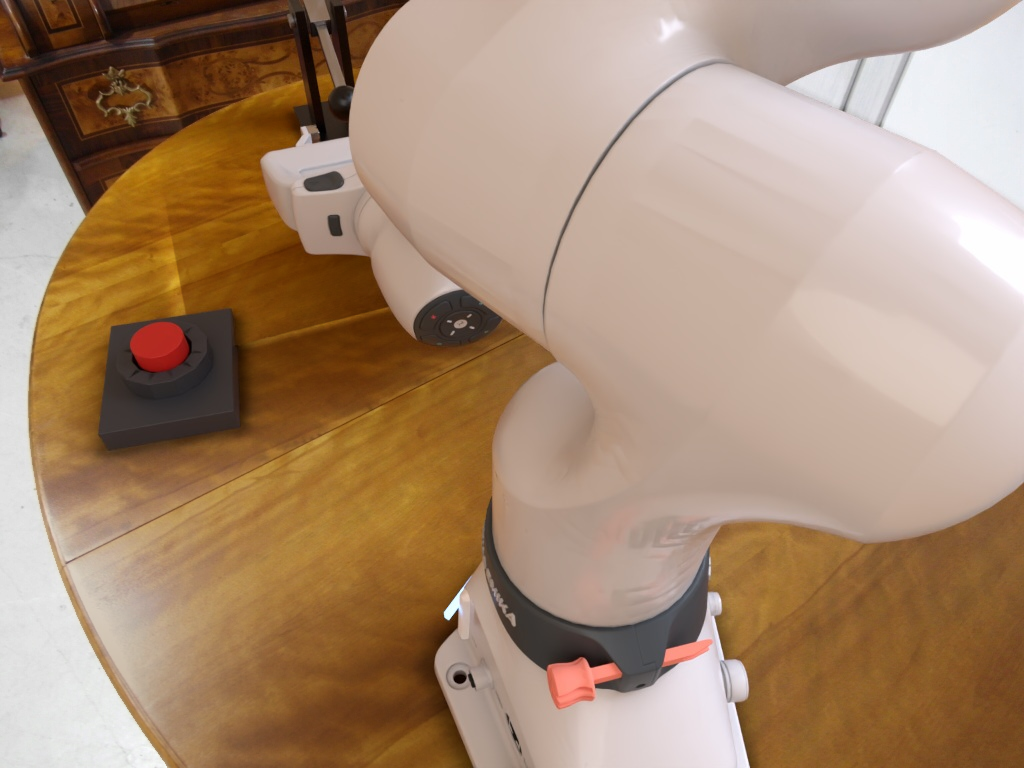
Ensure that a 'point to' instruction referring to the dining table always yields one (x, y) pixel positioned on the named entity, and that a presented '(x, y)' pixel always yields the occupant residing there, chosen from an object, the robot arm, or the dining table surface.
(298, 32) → the bracket
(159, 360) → the button
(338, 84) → the lever
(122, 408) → the button box
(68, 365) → the dining table surface
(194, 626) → the dining table surface
